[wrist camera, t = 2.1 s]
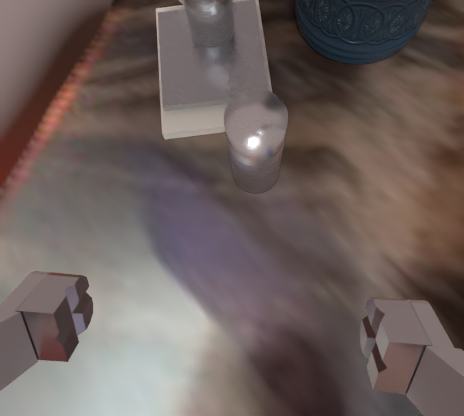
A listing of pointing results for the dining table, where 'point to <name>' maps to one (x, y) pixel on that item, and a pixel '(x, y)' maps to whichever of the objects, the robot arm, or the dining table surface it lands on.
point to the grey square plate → (209, 61)
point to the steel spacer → (255, 138)
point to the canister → (359, 27)
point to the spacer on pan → (210, 21)
